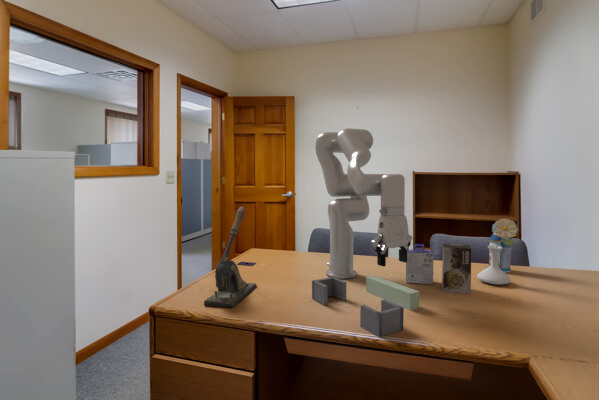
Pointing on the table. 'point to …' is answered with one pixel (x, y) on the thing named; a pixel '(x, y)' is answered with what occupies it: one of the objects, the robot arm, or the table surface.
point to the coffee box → (456, 268)
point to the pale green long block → (393, 292)
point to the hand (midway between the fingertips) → (392, 263)
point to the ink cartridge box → (419, 265)
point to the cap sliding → (328, 289)
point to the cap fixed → (382, 318)
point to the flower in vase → (493, 271)
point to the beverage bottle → (501, 253)
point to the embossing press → (230, 274)
